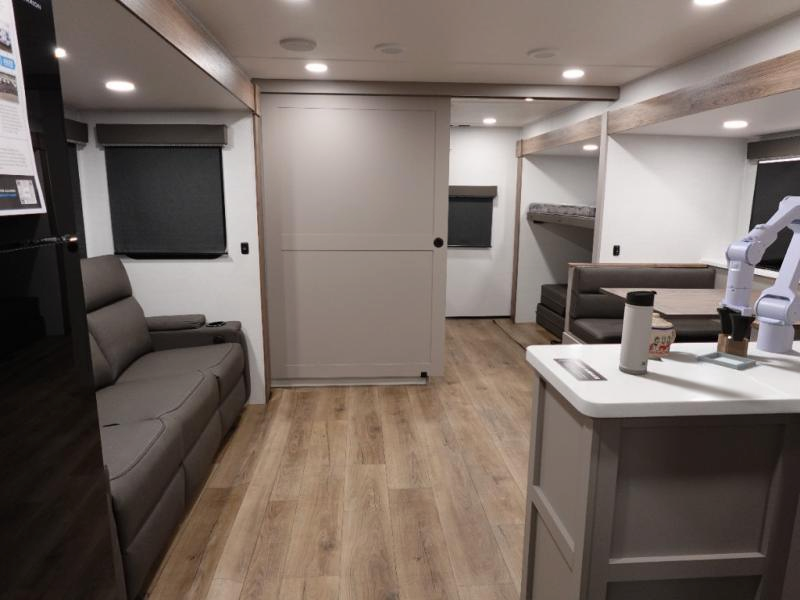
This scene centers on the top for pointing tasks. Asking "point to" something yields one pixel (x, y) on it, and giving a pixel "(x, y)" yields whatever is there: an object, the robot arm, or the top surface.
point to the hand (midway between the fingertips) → (731, 337)
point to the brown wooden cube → (732, 346)
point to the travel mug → (636, 332)
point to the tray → (739, 366)
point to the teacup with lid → (660, 337)
